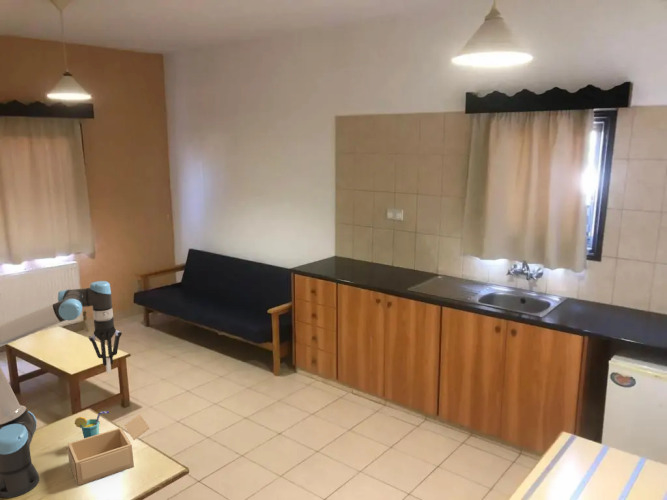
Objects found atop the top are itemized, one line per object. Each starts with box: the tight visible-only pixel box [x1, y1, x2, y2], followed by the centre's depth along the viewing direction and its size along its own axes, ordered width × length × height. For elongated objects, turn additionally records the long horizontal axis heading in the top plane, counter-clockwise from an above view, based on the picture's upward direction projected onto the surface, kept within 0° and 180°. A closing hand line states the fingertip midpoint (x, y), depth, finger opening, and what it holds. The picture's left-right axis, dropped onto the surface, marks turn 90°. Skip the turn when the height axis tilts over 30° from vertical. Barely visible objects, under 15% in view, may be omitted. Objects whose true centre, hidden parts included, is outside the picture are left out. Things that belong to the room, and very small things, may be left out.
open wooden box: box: [66, 427, 135, 487], centre depth 221 cm, size 22×18×10 cm
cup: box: [74, 411, 109, 439], centre depth 236 cm, size 14×8×15 cm, turn 113°
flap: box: [124, 414, 151, 441], centre depth 228 cm, size 8×14×1 cm, turn 34°
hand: (108, 371), depth 227 cm, fingers closed
